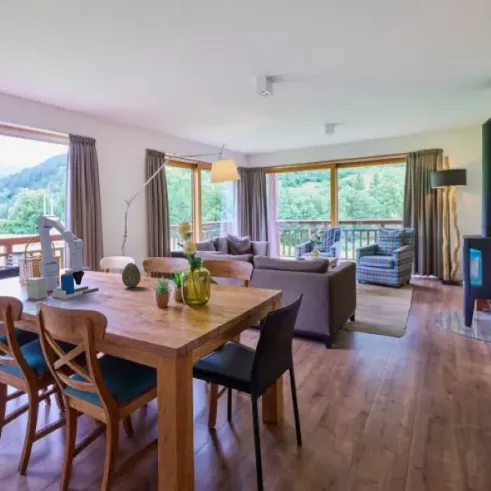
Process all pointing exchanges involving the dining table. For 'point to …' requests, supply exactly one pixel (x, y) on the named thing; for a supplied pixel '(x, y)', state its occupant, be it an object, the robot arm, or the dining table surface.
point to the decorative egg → (131, 275)
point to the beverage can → (67, 283)
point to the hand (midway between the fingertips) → (78, 284)
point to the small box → (36, 288)
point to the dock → (62, 293)
